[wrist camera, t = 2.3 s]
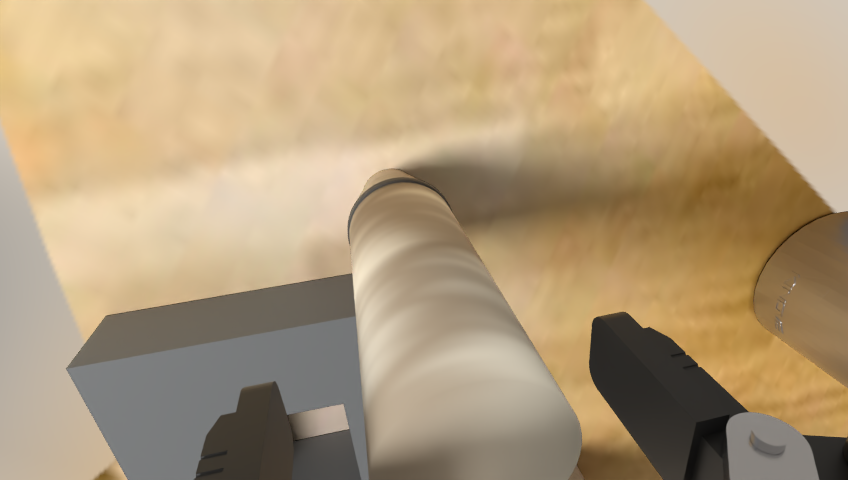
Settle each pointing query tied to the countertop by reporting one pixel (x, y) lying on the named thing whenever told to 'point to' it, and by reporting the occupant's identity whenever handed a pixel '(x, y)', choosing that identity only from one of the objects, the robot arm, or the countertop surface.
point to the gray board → (225, 375)
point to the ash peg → (445, 351)
